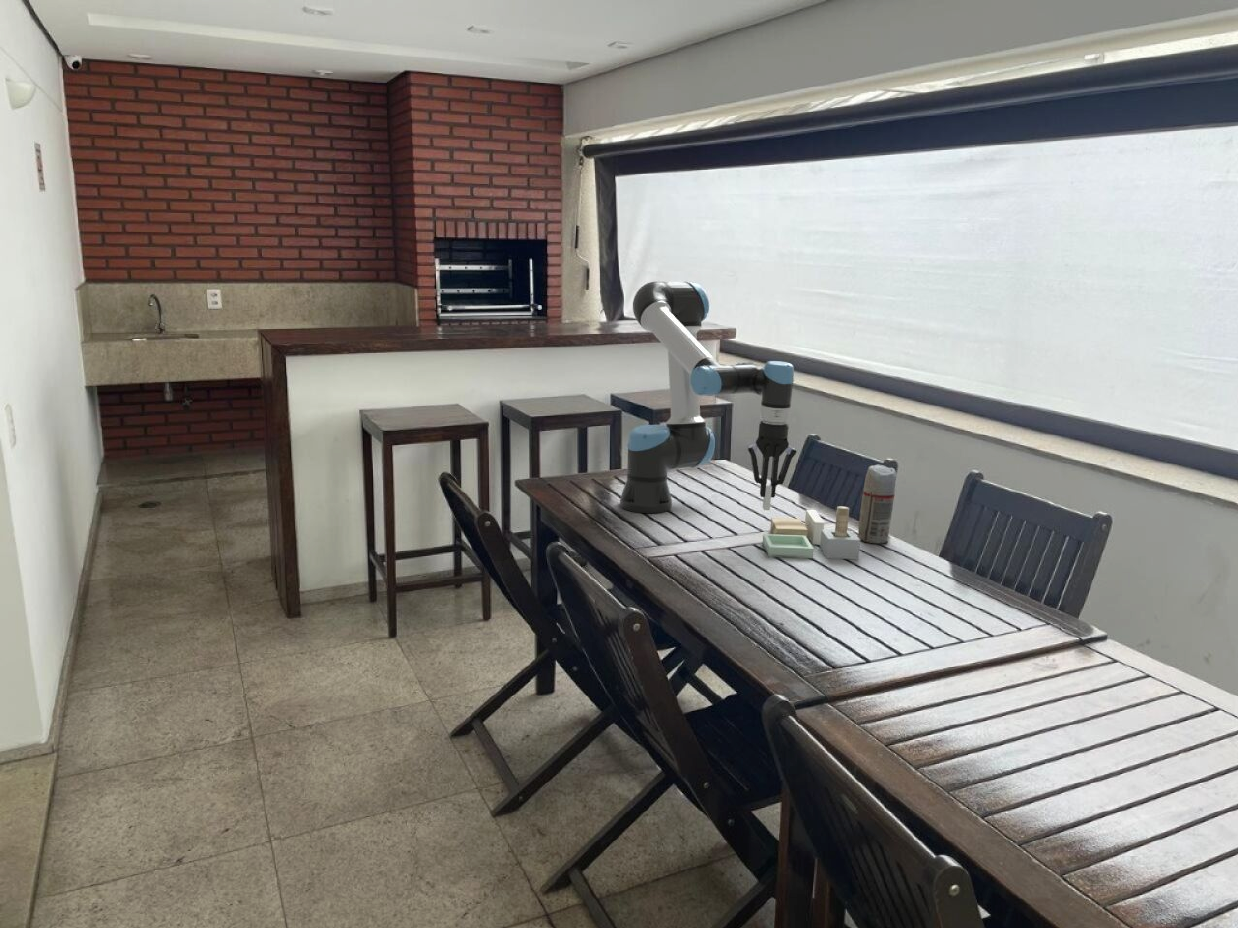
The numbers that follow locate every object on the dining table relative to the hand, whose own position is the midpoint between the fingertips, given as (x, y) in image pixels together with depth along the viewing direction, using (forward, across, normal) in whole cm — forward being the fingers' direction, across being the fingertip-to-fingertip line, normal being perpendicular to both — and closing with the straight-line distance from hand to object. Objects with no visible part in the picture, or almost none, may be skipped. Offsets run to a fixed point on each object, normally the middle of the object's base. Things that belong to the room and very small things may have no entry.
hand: (766, 508), depth 257 cm
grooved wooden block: (+8, +6, -1) cm, 10 cm away
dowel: (+7, +17, -14) cm, 23 cm away
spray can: (+7, +29, -1) cm, 30 cm away
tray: (+7, +4, -13) cm, 15 cm away
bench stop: (+7, +13, -1) cm, 15 cm away
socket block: (+7, +17, -14) cm, 23 cm away
